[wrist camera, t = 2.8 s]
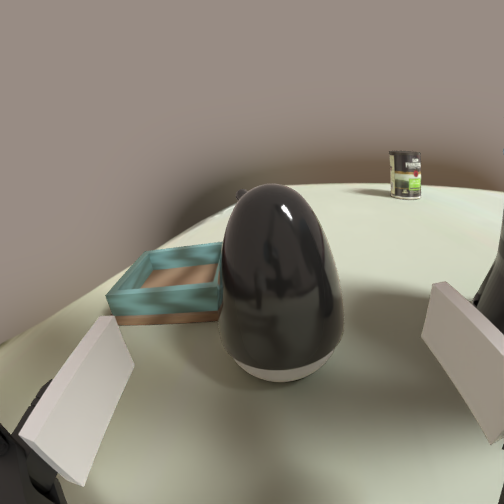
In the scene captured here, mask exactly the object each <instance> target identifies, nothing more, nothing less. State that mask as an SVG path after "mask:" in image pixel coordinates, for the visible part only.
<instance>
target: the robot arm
mask: <svg viewBox="0 0 504 504" xmlns="http://www.w3.org/2000/svg"><path fill="white" fill-rule="evenodd" d="M503 154H504V149H503ZM421 338H422V339H423V340H424V342H425V343H426V345H427V346H428V347H429V349H430V350H431V352H432V353H433V354H434V356H435V357H436V359H437V360H438V361H439V363H440V364H441V366H442V367H443V369H444V370H445V372H446V373H447V375H448V376H449V378H450V379H451V381H452V382H453V384H454V385H455V387H456V388H457V390H458V391H459V393H460V394H461V396H462V397H463V399H464V401H465V402H466V404H467V405H468V407H469V409H470V410H471V412H472V414H473V415H474V417H475V419H476V420H477V422H478V424H479V425H480V427H481V429H482V431H483V432H484V434H485V436H486V438H487V439H488V441H489V443H490V445H492V444H494V443H495V442H497V441H498V440H500V439H501V438H503V437H504V210H503V219H502V227H501V235H500V241H499V248H498V253H497V256H496V259H495V261H494V263H493V265H492V266H491V268H490V270H489V272H488V274H487V276H486V278H485V279H484V281H483V283H482V285H481V286H480V288H479V290H478V292H477V293H476V295H475V297H474V298H473V300H472V302H471V303H470V302H469V301H468V300H467V299H466V298H464V297H463V296H462V295H461V294H460V293H459V292H458V291H457V290H455V289H454V288H453V287H452V286H451V285H450V284H448V283H447V282H446V281H445V282H440V283H434V284H432V289H431V295H430V300H429V304H428V309H427V314H426V318H425V322H424V326H423V330H422V334H421ZM134 367H135V364H134V362H133V360H132V358H131V355H130V353H129V351H128V348H127V346H126V344H125V341H124V339H123V336H122V334H121V332H120V329H119V326H118V324H117V321H116V319H115V316H99V318H98V319H97V320H96V321H95V323H94V324H93V325H92V327H91V328H90V329H89V331H88V332H87V333H86V334H85V336H84V337H83V338H82V340H81V341H80V342H79V344H78V345H77V346H76V348H75V349H74V351H73V352H72V353H71V355H70V356H69V357H68V359H67V360H66V362H65V363H64V364H63V366H62V367H61V369H60V370H59V372H58V373H57V374H56V376H55V377H54V379H51V380H50V381H49V382H47V383H46V384H45V385H44V386H43V387H42V388H41V389H40V391H39V392H38V394H37V395H36V399H35V398H34V400H33V401H32V403H31V406H29V407H28V409H27V411H26V412H25V414H24V415H23V417H22V419H21V420H20V422H19V423H18V425H17V427H16V428H15V430H14V432H13V433H12V434H11V435H10V433H9V432H8V431H7V430H6V429H5V428H4V427H3V426H2V424H1V423H0V504H67V502H66V499H65V497H64V494H63V491H62V488H61V485H60V483H59V481H58V479H57V478H56V475H57V473H59V474H60V475H61V476H62V477H63V478H64V479H66V480H67V481H69V482H72V483H74V484H77V485H80V486H82V487H84V485H85V483H86V480H87V477H88V475H89V472H90V469H91V467H92V464H93V462H94V459H95V456H96V454H97V451H98V449H99V446H100V444H101V441H102V439H103V437H104V434H105V432H106V429H107V427H108V425H109V422H110V420H111V418H112V415H113V413H114V411H115V408H116V406H117V404H118V402H119V399H120V397H121V395H122V393H123V390H124V388H125V386H126V384H127V382H128V379H129V377H130V375H131V373H132V371H133V369H134ZM502 449H503V450H504V444H503V447H502ZM498 504H504V484H503V488H502V492H501V495H500V499H499V502H498Z"/></svg>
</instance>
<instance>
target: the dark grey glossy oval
mask: <svg viewBox="0 0 504 504" xmlns="http://www.w3.org/2000/svg"><path fill="white" fill-rule="evenodd" d="M236 198H237V200H238V202H237V204H236V205H235V207H234V209H233V211H232V214H231V216H230V218H229V221H228V224H227V227H226V231H225V234H224V239H223V243H222V249H221V255H220V263H219V273H218V285H217V312H218V327H219V333H220V338H221V341H222V344H223V346H224V348H225V350H226V351H227V352H228V353H229V354H230V355H231V356H232V357H233V358H234V360H235V361H236V362H237V364H238V365H239V366H240V367H241V368H243V369H244V370H245V371H246V372H248V373H249V374H251V375H253V376H255V377H257V378H260V379H263V380H267V381H272V382H289V381H294V380H298V379H301V378H304V377H306V376H308V375H310V374H312V373H314V372H315V371H317V370H318V369H319V368H320V367H322V366H323V365H324V364H325V363H326V362H327V360H328V359H329V358H330V356H331V355H332V353H333V351H334V349H335V347H336V346H337V345H338V343H339V342H340V340H341V338H342V335H343V331H344V306H343V298H342V291H341V285H340V280H339V276H338V272H337V268H336V264H335V261H334V258H333V255H332V252H331V249H330V246H329V243H328V240H327V238H326V235H325V233H324V231H323V228H322V226H321V224H320V222H319V220H318V218H317V216H316V215H315V213H314V211H313V210H312V208H311V207H310V206H309V204H308V203H307V202H306V200H305V199H304V198H303V197H302V196H301V195H300V194H299V193H298V192H296V191H295V190H293V189H291V188H289V187H287V186H284V185H279V184H264V185H261V186H258V187H255V188H253V189H251V190H250V191H246V190H245V189H240V190H239V191H237V193H236Z"/></svg>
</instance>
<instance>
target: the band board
mask: <svg viewBox="0 0 504 504" xmlns="http://www.w3.org/2000/svg"><path fill="white" fill-rule="evenodd" d="M222 243H223V242H217V243H208V244H200V245H192V246H184V247H176V248H168V249H160V250H152V251H145V252H144V253H143V254H142V255H141V256H140V257H139V258H138V259H137V261H135V263H134V264H133V265H132V266H131V267H130V268H129V269H128V270H127V271H126V273H125V274H124V275H123V276H122V277H121V278H120V279H119V280H118V282H117V283H116V284H115V285H114V286H113V287H112V288H111V290H110V291H109V292H108V293H107V294H106V295H105V296H106V299H107V301H108V304H109V306H110V309H111V312H112V314H111V315H110V316H115V319H116V321H117V324H118V325H150V324H174V323H192V322H208V321H218V312H217V285H218V273H219V263H220V255H221V249H222Z"/></svg>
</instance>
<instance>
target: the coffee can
mask: <svg viewBox="0 0 504 504" xmlns="http://www.w3.org/2000/svg"><path fill="white" fill-rule="evenodd" d="M389 154H390V171H391V196H392V197H394V198H399V199H410V200H412V199H420V198H421V161H420V160H421V159H420V154H421V153H420V152H410V151H389Z"/></svg>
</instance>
